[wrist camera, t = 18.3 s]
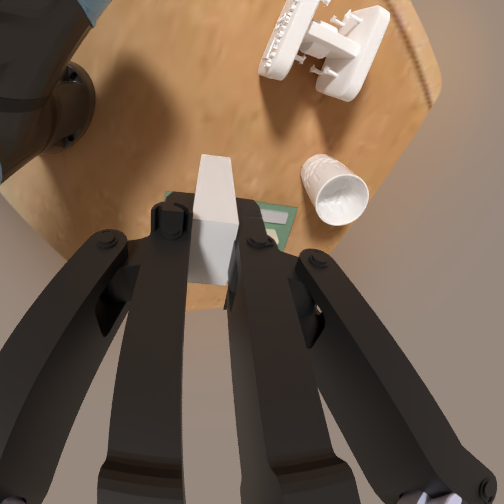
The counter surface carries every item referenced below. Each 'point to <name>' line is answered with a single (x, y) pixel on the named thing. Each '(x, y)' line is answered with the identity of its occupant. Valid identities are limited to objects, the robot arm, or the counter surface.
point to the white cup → (334, 190)
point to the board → (275, 219)
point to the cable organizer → (326, 46)
